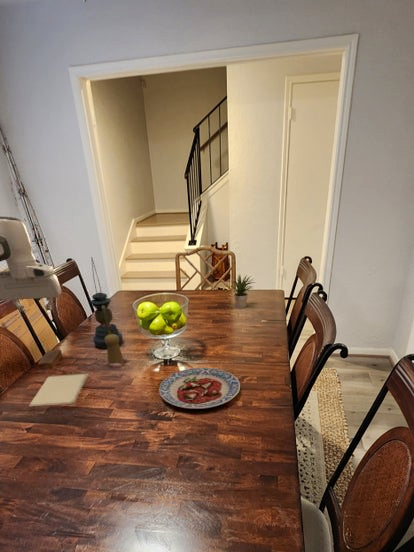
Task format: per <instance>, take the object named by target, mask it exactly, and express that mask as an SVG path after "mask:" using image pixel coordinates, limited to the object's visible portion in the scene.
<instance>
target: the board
mask: <svg viewBox="0 0 414 552" xmlns="http://www.w3.org/2000/svg"><path fill="white" fill-rule="evenodd" d="M88 376H89V373H74V374H59V375H58V374H57V375H48V376H47V378H46V380H45V381H44V383H43V384H42V385H41V387H40V388H39V390H38V391H37V393H36V394H35V396H34V398H33V399H32V400H31V401H30V404H29V405H28V407H39V406H40V407H41V406H54V405H56V406H57V405H68V404H69V405H71V404H75V402H77V401H76V400H77V398H78V397H79V395H80V393H81V390H82V388H83V387H84V384H85V382H86V380H87V378H88Z"/></svg>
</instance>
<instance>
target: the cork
mask: <svg viewBox="0 0 414 552" xmlns="http://www.w3.org/2000/svg"><path fill="white" fill-rule="evenodd" d="M105 343H106V344H107V349H106V352H107V353H106V354H107V362H108V363H109V364H121V365H122V364H124V363H125V360H124V359H125V358H124V356H123V354H122V350H121V347H120V345H119V344H118V343H119V337H118V336H117V335H115V334H110V335H107V336H106V337H105Z"/></svg>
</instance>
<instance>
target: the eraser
mask: <svg viewBox="0 0 414 552" xmlns="http://www.w3.org/2000/svg"><path fill="white" fill-rule="evenodd" d="M63 357H64V356H63V353H62V349H48V350H47V351H46V352H45V353H44V355H43V356H42V357H41V358H40V360H39V361H38V362H37V366H38V369H39V370H51V369H54V368H55V367H56V365H57V363H58V362H59V361H62V359H63Z"/></svg>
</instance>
